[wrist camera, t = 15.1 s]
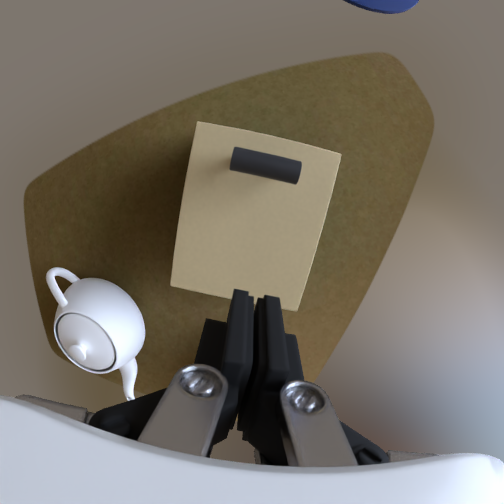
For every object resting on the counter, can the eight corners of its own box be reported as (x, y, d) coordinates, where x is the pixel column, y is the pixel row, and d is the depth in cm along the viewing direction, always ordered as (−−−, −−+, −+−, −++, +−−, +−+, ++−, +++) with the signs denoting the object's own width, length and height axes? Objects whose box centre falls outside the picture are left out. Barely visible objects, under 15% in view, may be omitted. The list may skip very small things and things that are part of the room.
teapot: (47, 271, 38) (6, 301, 28) (105, 233, 36) (61, 261, 26) (121, 378, 45) (100, 422, 35) (185, 359, 43) (170, 410, 33)
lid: (198, 122, 24) (186, 115, 19) (339, 154, 25) (357, 155, 20) (171, 282, 29) (157, 307, 24) (296, 307, 30) (303, 335, 25)
